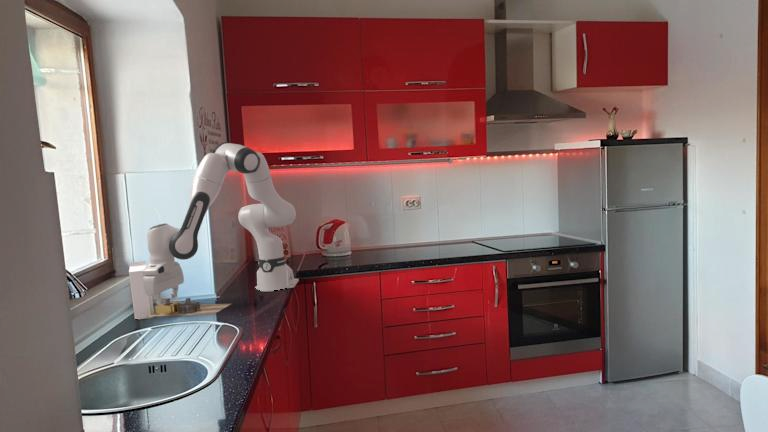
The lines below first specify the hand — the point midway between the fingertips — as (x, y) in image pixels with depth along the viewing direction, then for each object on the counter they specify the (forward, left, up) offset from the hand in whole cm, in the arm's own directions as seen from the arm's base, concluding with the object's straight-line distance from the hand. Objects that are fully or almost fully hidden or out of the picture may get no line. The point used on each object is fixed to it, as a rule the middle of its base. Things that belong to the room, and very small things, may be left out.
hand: (167, 300), depth 200 cm
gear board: (-2, +9, -6) cm, 11 cm away
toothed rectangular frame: (0, 0, -4) cm, 4 cm away
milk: (+1, -10, -6) cm, 12 cm away
